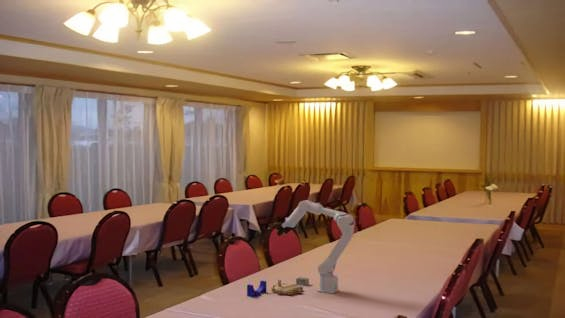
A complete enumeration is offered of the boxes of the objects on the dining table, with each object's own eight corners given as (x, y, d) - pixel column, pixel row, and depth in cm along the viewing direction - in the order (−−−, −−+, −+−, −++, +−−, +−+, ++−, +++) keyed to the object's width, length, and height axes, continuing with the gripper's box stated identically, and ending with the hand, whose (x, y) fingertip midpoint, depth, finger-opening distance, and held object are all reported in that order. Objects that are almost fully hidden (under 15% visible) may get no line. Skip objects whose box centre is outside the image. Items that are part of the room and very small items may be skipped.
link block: (308, 284, 315) (308, 278, 315) (305, 286, 312) (305, 279, 312) (299, 283, 319) (299, 276, 318) (296, 284, 315) (296, 278, 315)
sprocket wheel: (308, 289, 303) (308, 280, 303) (292, 296, 289) (292, 287, 289) (282, 284, 312) (282, 276, 312) (265, 291, 298) (265, 282, 298)
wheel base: (303, 290, 303) (303, 289, 303) (291, 296, 292) (291, 295, 292) (283, 286, 310) (283, 286, 310) (270, 292, 299) (270, 291, 299)
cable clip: (253, 297, 289) (253, 286, 289) (247, 296, 292) (247, 284, 292) (268, 292, 298) (268, 281, 298) (262, 291, 301) (262, 280, 301)
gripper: (296, 210, 318) (283, 226, 323) (284, 213, 306) (270, 230, 311) (305, 219, 316) (291, 235, 321) (292, 222, 303) (278, 239, 308)
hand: (281, 233), depth 316 cm, fingers open, 7 cm apart
